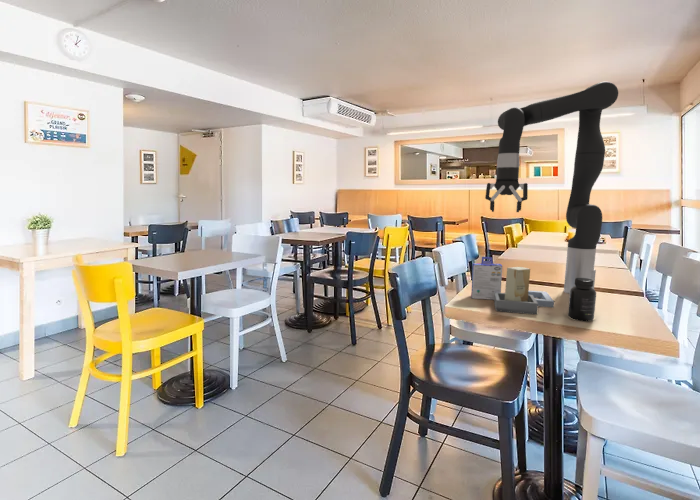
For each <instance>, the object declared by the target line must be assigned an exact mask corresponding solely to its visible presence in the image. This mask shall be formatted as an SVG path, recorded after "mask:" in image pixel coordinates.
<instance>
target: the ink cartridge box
mask: <svg viewBox="0 0 700 500" xmlns="http://www.w3.org/2000/svg"><path fill="white" fill-rule="evenodd" d="M502 276H503V265H502V264H501V263H493V257H491V256H481V263H480V262H472V269H471V293H470V298H471V299H476V300H477V299H478V300H491V301H492V300H493V301H494V293H495V292H497V293H502V280H503V279H502V278H503V277H502Z"/></svg>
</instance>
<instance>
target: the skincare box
mask: <svg viewBox="0 0 700 500" xmlns="http://www.w3.org/2000/svg"><path fill="white" fill-rule="evenodd" d="M530 276H531V268H528V267H523V266H514V267H513V266H512V267H506V277H505V278H506V279H505V290H504V291H505V292H504V293H505V300H509V301H522V302H528V291H530V288H529V287H530Z"/></svg>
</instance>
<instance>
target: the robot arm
mask: <svg viewBox="0 0 700 500" xmlns="http://www.w3.org/2000/svg"><path fill="white" fill-rule="evenodd" d="M618 97H619V89H618V87H617V85H616V84H615V83H614V82H610V81H601V82H598V83H595V84H593V85H590V86H589V87H586V88H585V89H584V90H581V91H577V92H574V93H571V94H566V95H563V96H559V97H554V98H549V99H546V100H541V101H537V102H534V103H531V104H528V105H526V106H524V107H521V108H520V107H511V108H509V109H507V110H506V111H503V112H502V113H501V114H500V115H499V116H498V119H497V126H498V127H499V129H501V131H503V133H502V137H501V138H500V140H499V143H498V154H497V155H498V156H497V161H496V173H495V174H496V177H495V182H494V183H490V182H488V183H486V188H485V196H484V199H485V200H487V201H489V203H490V204H489V209H490V210H489V211H491V212H492V213H494V212H495V202H496V201H495V199H497V198H498V197H499V195H500V196H505V195H506V196H512V195H513V197H515V199H516V200H517V201H516V209H515V211H516V213H519V212H520V211H522V202H524V201H527V200H528V188H529V187H528V183H527V182H525V183H519V175H520V174H519V173H520V165H521V163H520V161H521V160H520V149H521V147H520V145H521V144H520V143H521V138H522V136H523V132H524V128H525V127H527V126H528V125H529V126H530V125H533V124H539V123H544V122H547V121H552V120H554V119H557V118H560V117H563V116H567V115H570V114H572V113H576V112H578V119H579V120H578V132H577V138H576V139H577V141H576V150H575V154H574V155H575V156H574V164H573V165H574V167H573V174H572V181H571V182H572V183H571V190H570V195H569V198H568V204H567V208H566V213H565V214H566V215H565V219H566V222H567V224H568V226H570V227H571V228H573V229H575V233H574V235H573V236H572V237H571V238H569V239H568V240H567V250H566V262H565V272H564V273H565V275H564V284H563V292H564V293H565V294H568V295H570V290H571V288H572V287H574V286H575V285H574V283H575V278H588V279H592V280H594V282H593V285H594V286H593V287H592V288H593V289H594V290H595V283H596V282H595V281H596V275H597V274H596V272H597V270H596V269H595V263H596V262H595V261H596V251H597V244H598V243H599V242H600V238H601V233H602V232H601V231H602V226H603V212H602V210H601V208H600V207H599V206H598V205H596V204H592V203H590V199H591V194H592V193H591V192H592V190H593V187H594V185H595V183H596V182H597V180H598V178H599V176H600V174H601V173H602V170H603V169H604V164H605V163H604V162H605V155H606V145H605V142H604V138H603V135H602V131H601V125H600V124H601V117H602V112H603V110H605V109H608V108H610V107H611V106H612V105H614V104H615V102H616V101H617V99H618ZM493 188H494V189H496V190H495V191H496V192H495V193H494V194H493V195H492V196H490V195H491V194H490V192H491V190H492V189H493ZM519 188H520V189H521V190H522V197H521V196H520V195H519V193H518V192H517V190H518V189H519Z"/></svg>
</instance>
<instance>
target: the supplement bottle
mask: <svg viewBox="0 0 700 500" xmlns="http://www.w3.org/2000/svg"><path fill="white" fill-rule="evenodd" d="M593 282H594V280H592V279H588V278H575V283H574V285H575V286H574V287H572V288H571V290H570V294H569V297H568V299H569V302H568V311H567V315H568V316H567V317H569V318H570V319H571V320H574V321H579V322H591V321H594V319H595V310H596V302H597V300H596V299H597V291H596V289H595V288H594V289H593V288H592V287H593V286H594V287H595V284H594V285H593Z"/></svg>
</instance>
